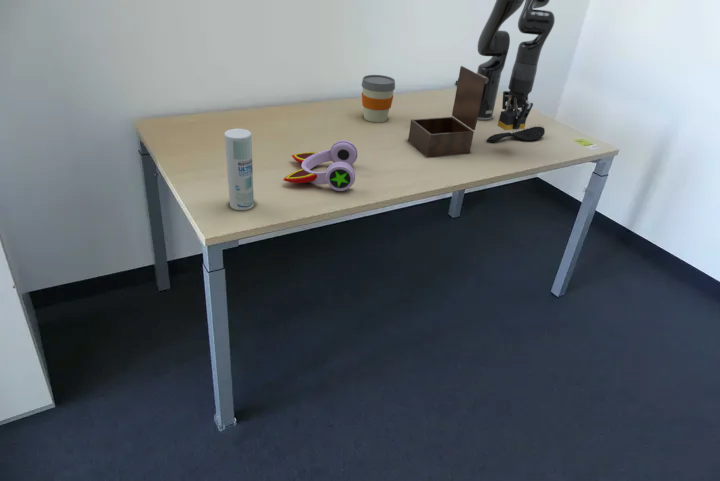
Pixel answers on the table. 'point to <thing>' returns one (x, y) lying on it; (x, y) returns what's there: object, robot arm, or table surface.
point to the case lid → (468, 97)
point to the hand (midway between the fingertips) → (511, 126)
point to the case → (440, 136)
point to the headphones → (336, 174)
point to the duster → (509, 120)
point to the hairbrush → (521, 134)
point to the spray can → (239, 168)
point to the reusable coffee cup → (377, 97)
